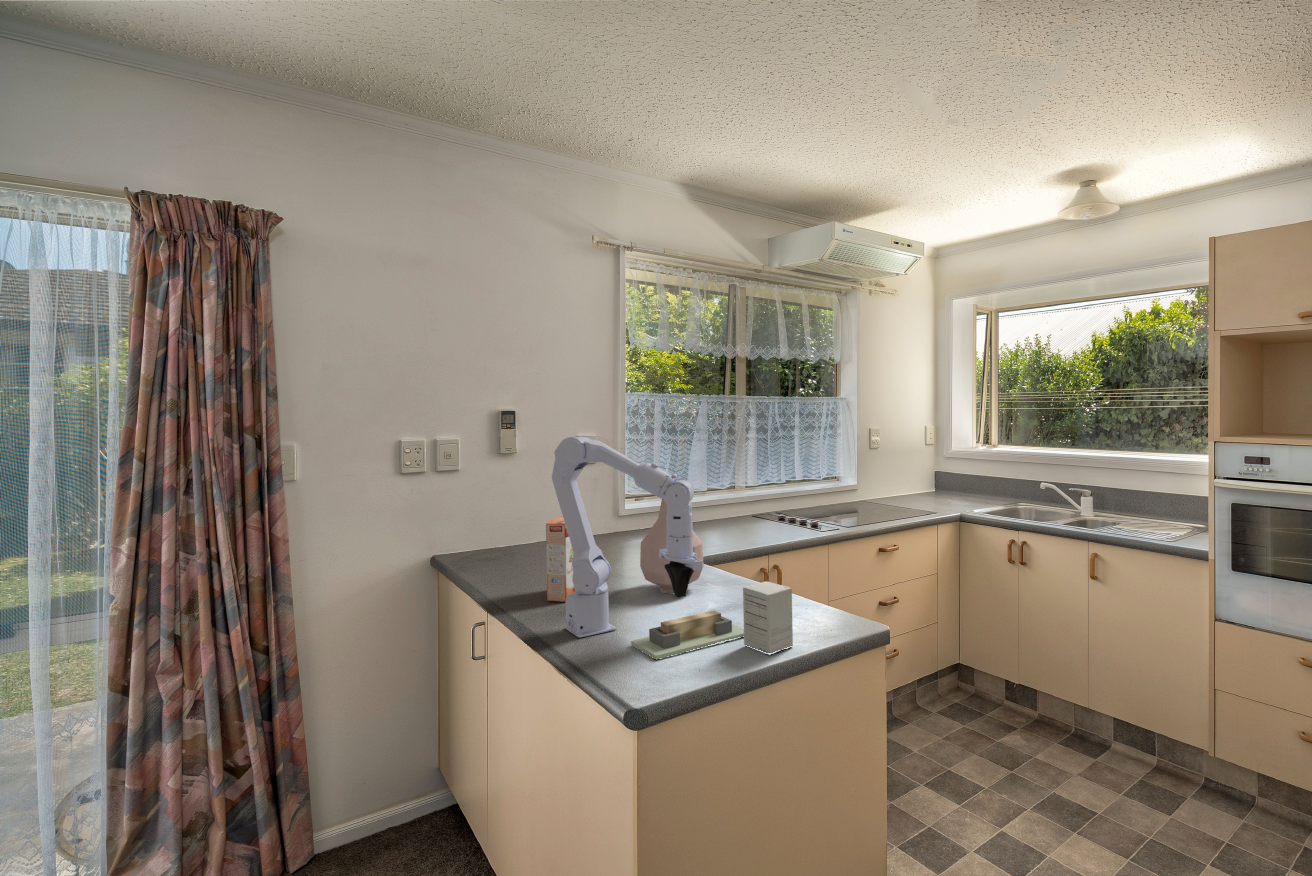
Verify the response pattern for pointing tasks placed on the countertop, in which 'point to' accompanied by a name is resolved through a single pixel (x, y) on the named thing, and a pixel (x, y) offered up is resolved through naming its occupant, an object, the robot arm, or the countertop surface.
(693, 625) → the slat
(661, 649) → the board
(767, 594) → the supplement box
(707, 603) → the countertop surface
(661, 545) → the vase
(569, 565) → the cracker box
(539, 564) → the countertop surface
